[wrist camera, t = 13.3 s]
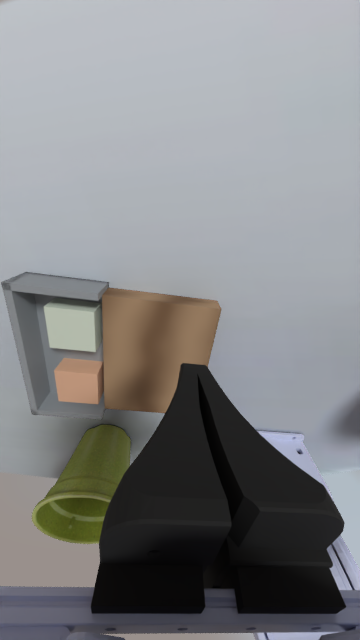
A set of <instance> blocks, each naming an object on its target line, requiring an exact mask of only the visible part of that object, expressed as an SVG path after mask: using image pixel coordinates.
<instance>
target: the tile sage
mask: <svg viewBox="0 0 360 640" xmlns="http://www.w3.org/2000/svg"><path fill="white" fill-rule="evenodd" d="M44 313H45V319H46V326H47V332H48V339H49V345H50V348H59V349H69V350H79V351H90V352H96V351H97V349H98V347H99V345H100V343H101V342H102V312H101V303H96V302H87V301H78V300H70V299H61V298H55V299H53V300H52V301H51V302H49V303H48V304H46V305H45V306H44Z"/></svg>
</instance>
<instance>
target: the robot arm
mask: <svg viewBox="0 0 360 640" xmlns="http://www.w3.org/2000/svg"><path fill="white" fill-rule="evenodd" d="M303 440H304V436H303V434H296V433H282V432H269V431H256V430H255V429H254V428H253V427H252V426H251V425H250V424H249V422H248V421H247V420H246V419H245V418H244V417H243V416H242V415H241V414H240V413H239V411H238V410H237V409H236V408H235V406H234V405H233V404H232V403H231V401H230V400H229V399H228V397H227V396H226V395H225V393H224V392H223V390H222V389H221V388H220V386H219V385H218V383H217V382H216V380H215V379H214V377H213V375H212V374H211V372H210V371H209V369H208V367H207V366H206V365H200V364H189V363H182V364H181V366H180V372H179V378H178V383H177V388H176V391H175V393H174V396H173V398H172V400H171V403H170V405H169V407H168V409H167V411H166V413H165V415H164V417H163V419H162V420H161V422H160V424H159V426H158V427H157V429H156V431H155V432H154V434H153V435H152V437H151V438H150V440H149V441H148V443H147V444H146V446H145V447H144V448H143V450H142V451H141V453H140V454H139V455H138V457H137V458H136V459H135V460H134V462H133V463H132V464H131V465H130V467H129V468H128V469H127V471H126V472H125V473H124V475H123V477H122V479H121V481H120V483H119V485H118V487H117V489H116V491H115V493H114V495H113V497H112V499H111V501H110V503H109V506H108V508H107V511H106V514H105V517H104V521H103V526H102V530H101V535H100V540H99V549H100V565H99V569H98V574H97V579H96V583H95V587H11V586H9V587H8V586H0V640H125V639H124V638H121V637H114V636H109V635H103V634H119V633H120V634H123V633H124V634H126V633H128V634H129V633H253V634H254V637H255V639H256V640H360V570H359V568H358V566H357V564H356V562H355V561H354V558H353V556H352V554H351V553H350V551H349V549H348V547H347V545H346V544H345V542H344V540H343V539H342V537H341V536H340V534H341V533H342V532H343V528H344V521H343V519H342V517H341V515H340V513H339V511H338V509H337V507H336V505H335V504H334V501H333V498H332V495H331V493H330V490H329V489H328V486H327V485H326V483H325V481H324V479H323V477H322V476H321V474H320V472H319V470H318V469H317V467H316V465H315V463H314V461H313V460H312V458H311V456H310V454H309V452H308V451H307V449H306V447H305V445H304V444H303Z"/></svg>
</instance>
